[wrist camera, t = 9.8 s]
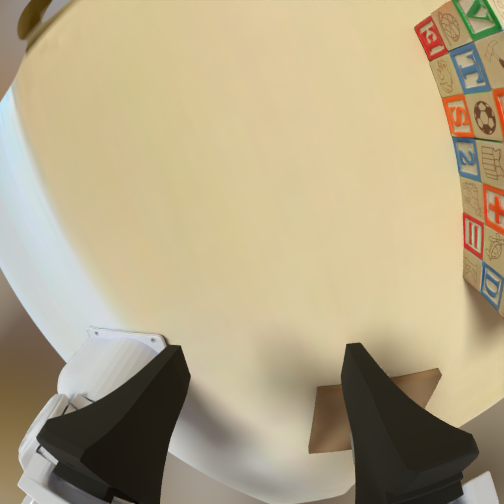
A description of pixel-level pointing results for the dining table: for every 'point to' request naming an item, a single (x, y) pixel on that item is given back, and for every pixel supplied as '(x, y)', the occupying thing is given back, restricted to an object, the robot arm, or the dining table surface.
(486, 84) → the stack of blocks
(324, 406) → the walnut board
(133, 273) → the dining table surface
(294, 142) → the dining table surface
